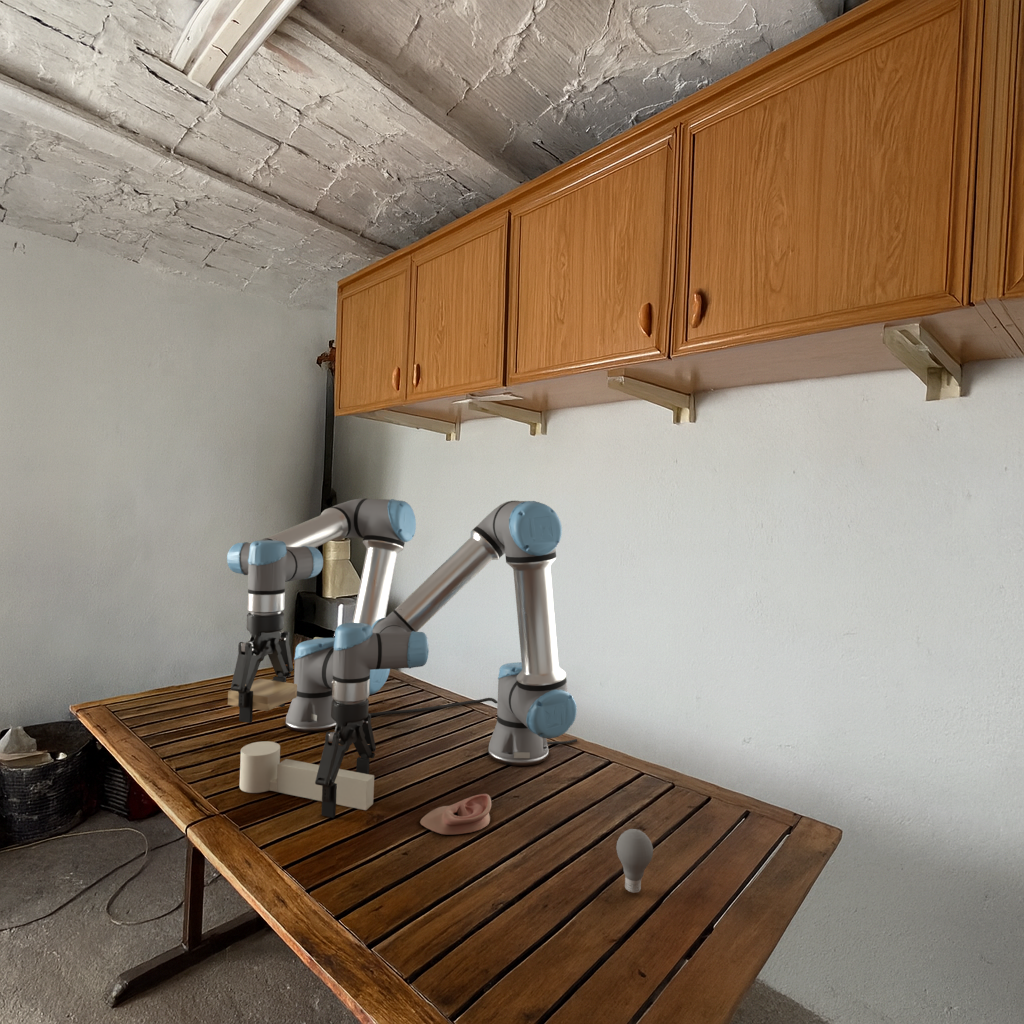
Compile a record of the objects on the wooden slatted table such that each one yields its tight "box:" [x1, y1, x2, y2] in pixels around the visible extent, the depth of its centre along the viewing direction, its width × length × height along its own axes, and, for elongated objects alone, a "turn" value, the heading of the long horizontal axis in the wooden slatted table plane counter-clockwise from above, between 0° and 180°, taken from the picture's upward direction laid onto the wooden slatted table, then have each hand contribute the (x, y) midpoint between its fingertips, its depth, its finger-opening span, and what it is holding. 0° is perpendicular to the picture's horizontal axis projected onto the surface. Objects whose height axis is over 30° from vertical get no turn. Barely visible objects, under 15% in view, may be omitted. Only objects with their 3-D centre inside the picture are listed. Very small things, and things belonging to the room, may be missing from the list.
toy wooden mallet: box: [239, 741, 375, 811], centre depth 135 cm, size 31×8×8 cm, turn 73°
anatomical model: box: [419, 793, 492, 836], centre depth 126 cm, size 13×4×12 cm
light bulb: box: [615, 828, 654, 894], centre depth 106 cm, size 6×6×10 cm
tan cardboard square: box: [227, 678, 297, 712], centre depth 138 cm, size 10×10×3 cm
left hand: (262, 713), depth 138 cm, fingers closed on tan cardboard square, 10 cm apart
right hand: (345, 801), depth 132 cm, fingers open, 12 cm apart
